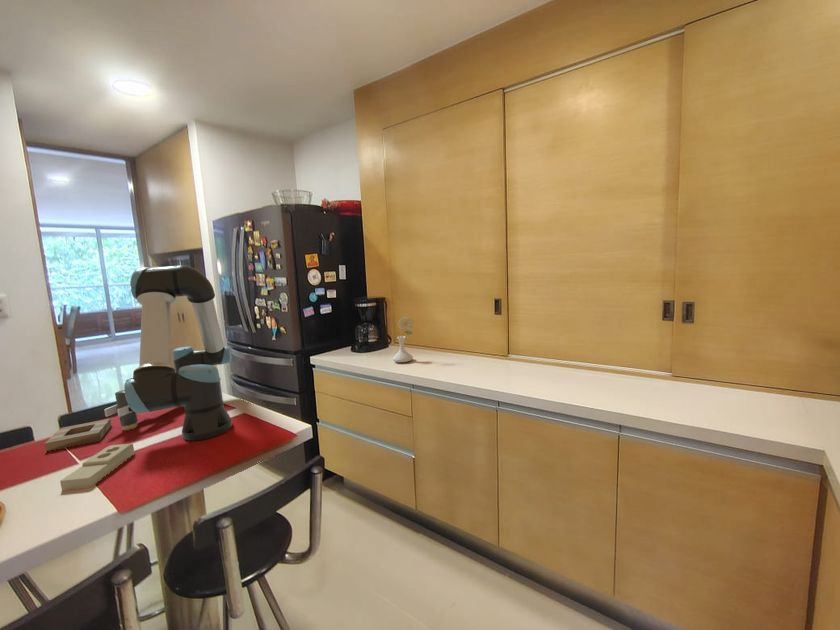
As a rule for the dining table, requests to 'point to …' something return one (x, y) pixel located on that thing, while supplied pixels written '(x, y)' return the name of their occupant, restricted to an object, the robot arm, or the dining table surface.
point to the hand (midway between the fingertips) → (112, 413)
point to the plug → (129, 419)
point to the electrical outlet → (98, 467)
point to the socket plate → (78, 434)
